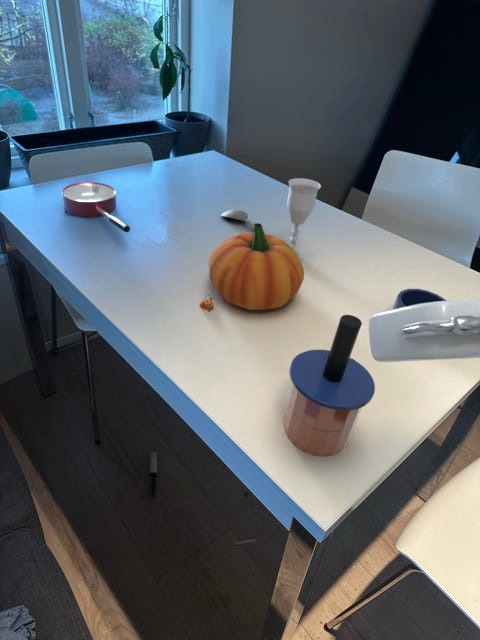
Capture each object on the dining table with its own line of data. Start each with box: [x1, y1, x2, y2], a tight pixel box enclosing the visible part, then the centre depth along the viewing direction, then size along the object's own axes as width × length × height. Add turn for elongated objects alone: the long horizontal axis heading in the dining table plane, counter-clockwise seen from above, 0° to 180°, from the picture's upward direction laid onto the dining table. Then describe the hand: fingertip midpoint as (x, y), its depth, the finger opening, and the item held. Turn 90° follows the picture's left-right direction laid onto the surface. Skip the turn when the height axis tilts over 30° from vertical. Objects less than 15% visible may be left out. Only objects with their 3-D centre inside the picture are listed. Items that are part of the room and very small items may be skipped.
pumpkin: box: [208, 222, 305, 311], centre depth 89 cm, size 19×19×15 cm
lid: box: [288, 314, 376, 410], centre depth 57 cm, size 11×11×10 cm
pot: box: [283, 384, 363, 457], centre depth 63 cm, size 10×10×10 cm
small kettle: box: [199, 293, 214, 313], centre depth 87 cm, size 3×3×3 cm
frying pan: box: [61, 181, 131, 233], centre depth 110 cm, size 32×13×6 cm, turn 39°
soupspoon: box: [220, 208, 270, 235], centre depth 116 cm, size 22×3×7 cm
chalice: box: [286, 177, 322, 261], centre depth 102 cm, size 7×7×18 cm
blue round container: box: [391, 288, 448, 310], centre depth 88 cm, size 10×10×6 cm
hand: (442, 340), depth 40 cm, fingers open, 8 cm apart
